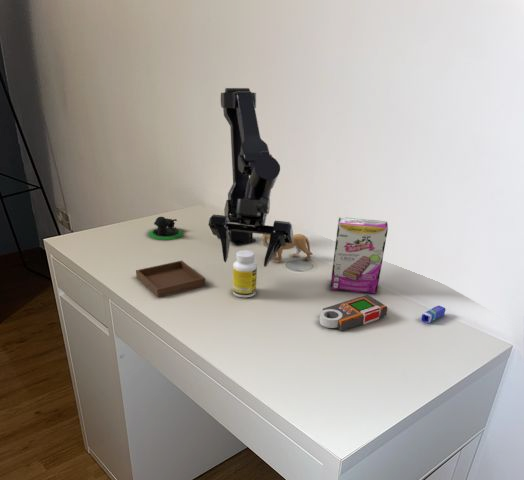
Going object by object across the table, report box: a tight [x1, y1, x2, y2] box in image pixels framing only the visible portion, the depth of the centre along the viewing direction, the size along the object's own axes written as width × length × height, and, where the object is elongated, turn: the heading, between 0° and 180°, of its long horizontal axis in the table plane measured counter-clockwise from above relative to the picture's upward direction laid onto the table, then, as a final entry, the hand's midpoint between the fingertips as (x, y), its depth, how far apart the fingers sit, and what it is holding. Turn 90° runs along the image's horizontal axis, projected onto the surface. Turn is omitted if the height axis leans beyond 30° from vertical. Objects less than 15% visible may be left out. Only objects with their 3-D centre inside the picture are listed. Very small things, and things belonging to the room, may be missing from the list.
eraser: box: [420, 305, 446, 324], centre depth 117 cm, size 2×6×2 cm, turn 130°
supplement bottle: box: [232, 249, 258, 299], centre depth 123 cm, size 5×5×10 cm
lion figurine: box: [261, 233, 313, 263], centre depth 141 cm, size 15×5×9 cm, turn 113°
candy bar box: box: [330, 216, 389, 295], centre depth 125 cm, size 11×5×16 cm, turn 81°
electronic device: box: [319, 294, 388, 332], centre depth 116 cm, size 7×3×15 cm
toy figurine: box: [148, 216, 184, 241], centre depth 155 cm, size 10×10×6 cm
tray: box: [135, 260, 206, 298], centre depth 129 cm, size 12×12×2 cm
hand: (244, 263), depth 121 cm, fingers open, 9 cm apart
